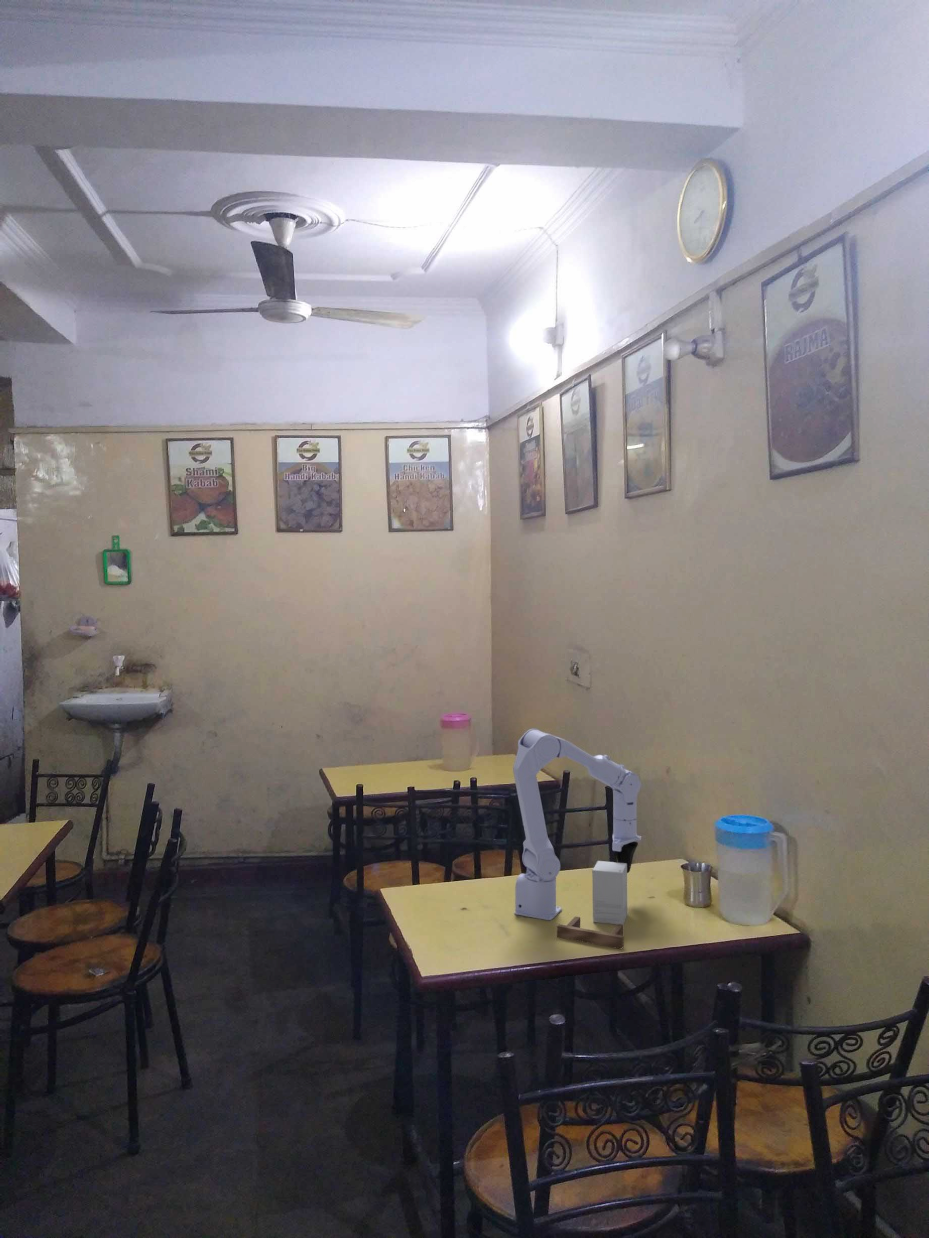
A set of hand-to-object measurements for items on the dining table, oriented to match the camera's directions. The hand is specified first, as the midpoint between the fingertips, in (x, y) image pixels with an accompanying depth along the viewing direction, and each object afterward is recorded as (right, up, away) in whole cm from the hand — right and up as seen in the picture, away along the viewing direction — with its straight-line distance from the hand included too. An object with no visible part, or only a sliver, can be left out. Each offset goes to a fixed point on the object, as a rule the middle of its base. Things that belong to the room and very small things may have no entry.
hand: (624, 871), depth 223 cm
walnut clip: (-11, -9, -21) cm, 25 cm away
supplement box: (-5, -8, -10) cm, 14 cm away
